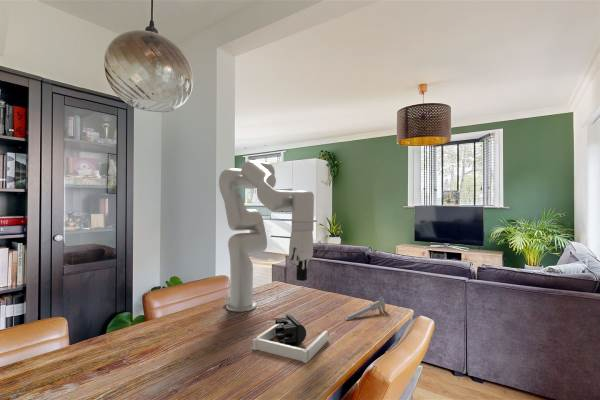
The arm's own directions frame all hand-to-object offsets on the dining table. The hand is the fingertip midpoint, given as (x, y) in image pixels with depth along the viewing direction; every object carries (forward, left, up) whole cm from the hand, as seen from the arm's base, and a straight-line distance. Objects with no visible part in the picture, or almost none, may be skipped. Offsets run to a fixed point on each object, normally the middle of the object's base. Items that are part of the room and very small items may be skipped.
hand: (301, 279), depth 106 cm
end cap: (0, -7, -18) cm, 20 cm away
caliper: (+15, +26, -19) cm, 36 cm away
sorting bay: (+1, -9, -18) cm, 20 cm away
